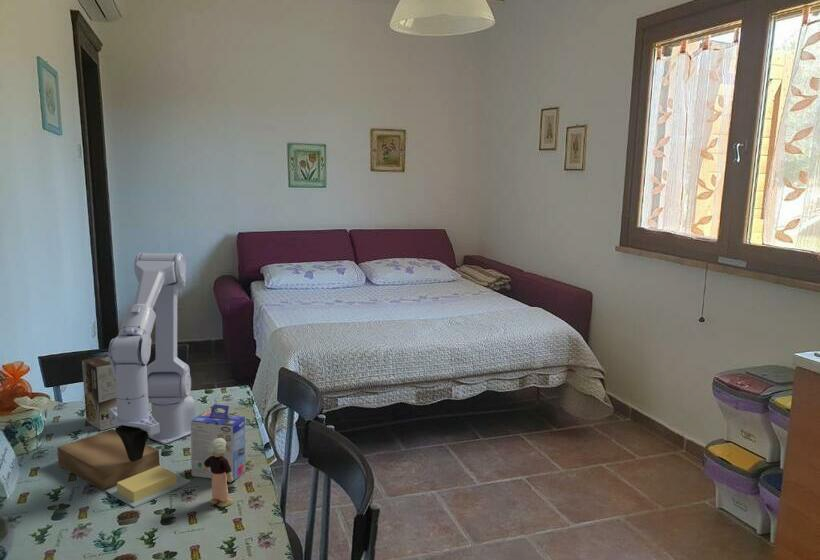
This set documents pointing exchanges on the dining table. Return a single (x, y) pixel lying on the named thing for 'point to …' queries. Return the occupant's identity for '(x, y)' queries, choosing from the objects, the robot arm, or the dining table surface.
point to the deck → (104, 459)
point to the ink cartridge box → (209, 430)
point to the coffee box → (99, 391)
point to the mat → (113, 492)
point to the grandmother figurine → (219, 472)
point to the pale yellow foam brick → (146, 483)
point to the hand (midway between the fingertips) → (135, 459)
